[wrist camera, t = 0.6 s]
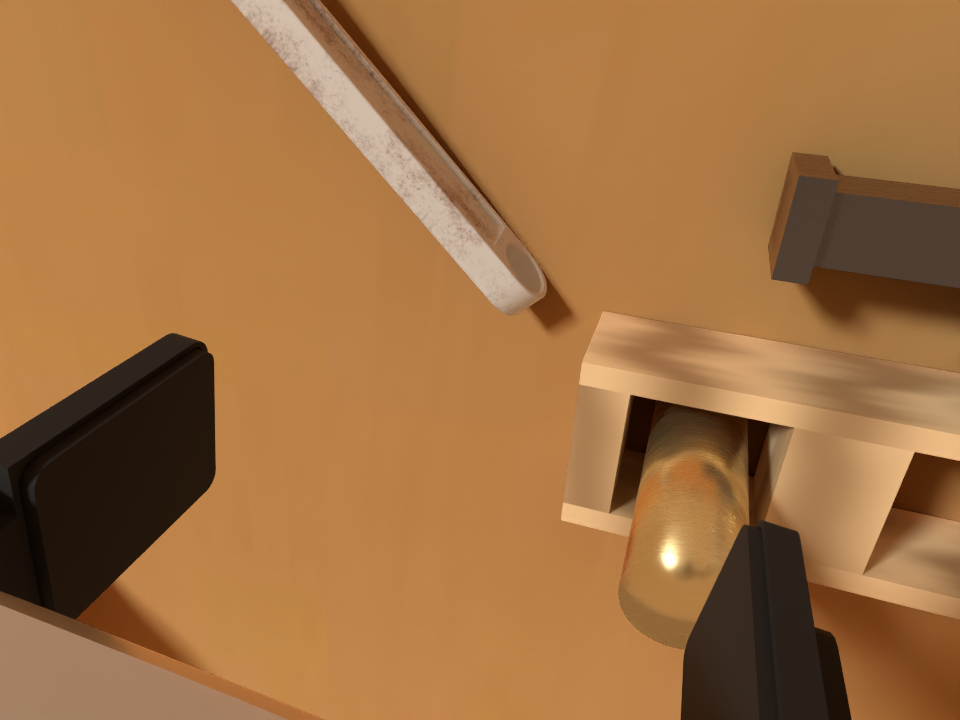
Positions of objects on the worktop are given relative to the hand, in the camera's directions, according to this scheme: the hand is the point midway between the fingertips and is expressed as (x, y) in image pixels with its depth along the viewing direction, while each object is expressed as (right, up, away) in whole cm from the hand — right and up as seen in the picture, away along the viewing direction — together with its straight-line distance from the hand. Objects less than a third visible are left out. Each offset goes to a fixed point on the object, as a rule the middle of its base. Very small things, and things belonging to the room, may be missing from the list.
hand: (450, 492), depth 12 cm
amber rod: (+11, 0, +20) cm, 23 cm away
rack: (+15, -1, +19) cm, 25 cm away
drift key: (+17, +7, +14) cm, 23 cm away
